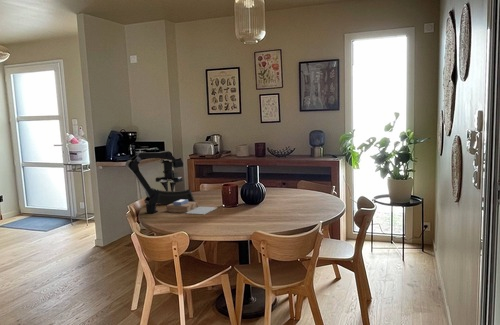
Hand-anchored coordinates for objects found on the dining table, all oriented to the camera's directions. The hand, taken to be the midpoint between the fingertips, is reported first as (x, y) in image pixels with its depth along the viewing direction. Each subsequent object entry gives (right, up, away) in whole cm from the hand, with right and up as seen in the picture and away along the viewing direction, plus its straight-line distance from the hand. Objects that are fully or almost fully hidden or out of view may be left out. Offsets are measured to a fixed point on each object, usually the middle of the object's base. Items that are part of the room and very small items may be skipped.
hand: (169, 191), depth 277 cm
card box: (+8, -8, -2) cm, 12 cm away
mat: (+23, -12, -8) cm, 27 cm away
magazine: (-1, -10, +17) cm, 20 cm away
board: (+9, -12, -2) cm, 15 cm away
